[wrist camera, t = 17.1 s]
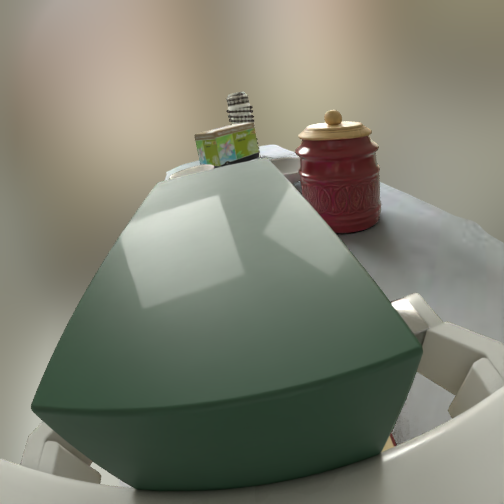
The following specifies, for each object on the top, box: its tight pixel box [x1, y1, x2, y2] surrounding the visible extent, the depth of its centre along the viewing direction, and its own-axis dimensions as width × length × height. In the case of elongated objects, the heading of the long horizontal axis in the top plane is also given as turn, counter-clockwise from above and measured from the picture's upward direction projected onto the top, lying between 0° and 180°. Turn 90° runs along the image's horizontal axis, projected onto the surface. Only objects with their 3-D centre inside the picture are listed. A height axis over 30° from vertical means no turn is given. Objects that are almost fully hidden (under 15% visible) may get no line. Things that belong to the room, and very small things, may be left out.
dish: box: [270, 157, 300, 184], centre depth 66 cm, size 18×14×5 cm
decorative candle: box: [227, 92, 260, 157], centre depth 99 cm, size 9×9×25 cm
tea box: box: [195, 123, 260, 168], centre depth 82 cm, size 15×10×15 cm, turn 134°
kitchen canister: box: [295, 110, 381, 233], centre depth 43 cm, size 13×13×18 cm
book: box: [31, 158, 423, 491], centre depth 10 cm, size 10×5×12 cm, turn 6°
